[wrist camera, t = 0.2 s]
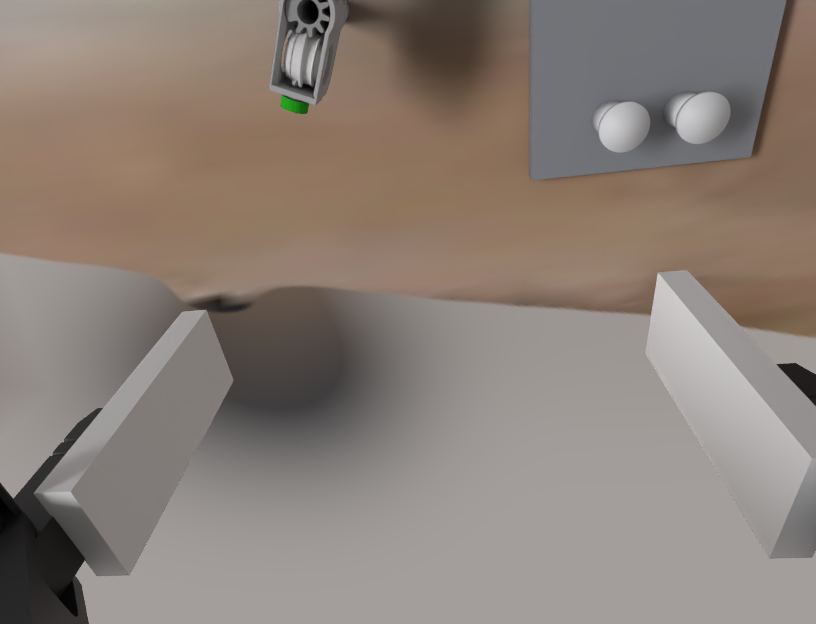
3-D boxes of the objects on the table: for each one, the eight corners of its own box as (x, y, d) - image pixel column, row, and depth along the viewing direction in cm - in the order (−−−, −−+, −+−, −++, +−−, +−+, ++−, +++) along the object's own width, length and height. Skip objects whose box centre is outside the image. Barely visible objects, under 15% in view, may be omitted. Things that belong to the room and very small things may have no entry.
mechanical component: (378, -71, 32) (357, -99, 24) (342, 93, 37) (315, 120, 29) (333, -88, 32) (295, -122, 23) (303, 80, 37) (264, 103, 28)
